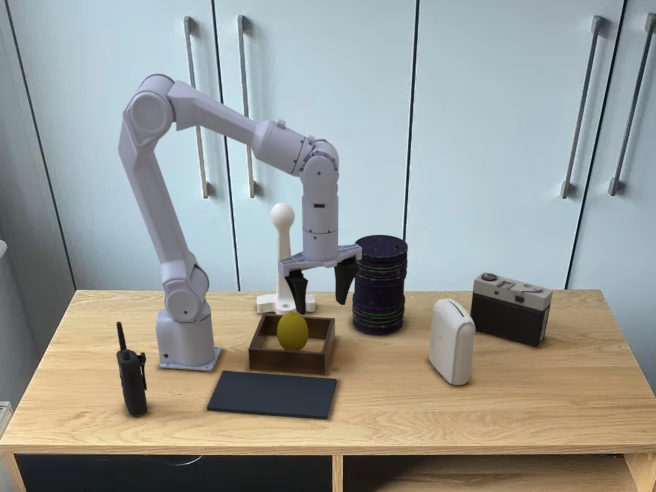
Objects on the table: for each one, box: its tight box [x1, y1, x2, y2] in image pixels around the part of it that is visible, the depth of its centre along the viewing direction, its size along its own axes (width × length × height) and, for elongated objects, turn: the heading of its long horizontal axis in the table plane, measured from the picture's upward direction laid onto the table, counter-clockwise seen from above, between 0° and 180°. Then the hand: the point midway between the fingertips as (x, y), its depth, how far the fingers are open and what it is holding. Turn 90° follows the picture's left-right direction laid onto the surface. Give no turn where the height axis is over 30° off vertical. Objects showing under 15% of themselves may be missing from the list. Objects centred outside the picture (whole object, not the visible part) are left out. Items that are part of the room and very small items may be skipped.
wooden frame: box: [247, 313, 336, 376], centre depth 153 cm, size 13×13×4 cm
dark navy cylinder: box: [351, 234, 409, 337], centre depth 158 cm, size 10×10×15 cm
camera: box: [469, 271, 554, 348], centre depth 158 cm, size 14×8×10 cm, turn 58°
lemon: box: [276, 311, 309, 351], centre depth 152 cm, size 6×6×8 cm
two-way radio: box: [115, 321, 148, 417], centre depth 136 cm, size 6×4×15 cm
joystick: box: [256, 202, 316, 315], centre depth 159 cm, size 11×8×20 cm
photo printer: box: [428, 297, 476, 386], centre depth 146 cm, size 10×4×12 cm, turn 20°
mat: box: [206, 370, 338, 420], centre depth 144 cm, size 20×12×1 cm, turn 83°
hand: (320, 307), depth 146 cm, fingers open, 7 cm apart
